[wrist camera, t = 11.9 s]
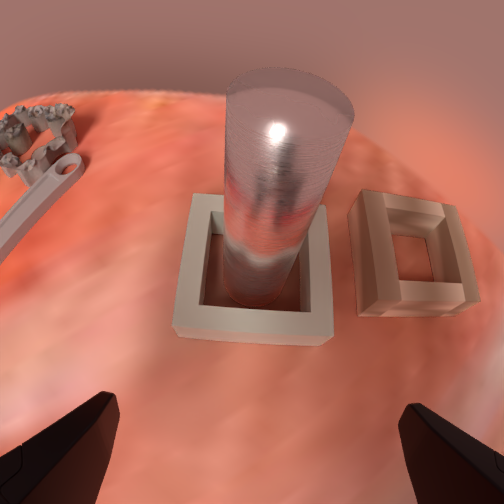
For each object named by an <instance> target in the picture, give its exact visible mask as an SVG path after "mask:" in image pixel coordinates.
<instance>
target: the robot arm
mask: <svg viewBox="0 0 504 504" xmlns="http://www.w3.org/2000/svg"><path fill="white" fill-rule="evenodd" d="M119 418H120V412H119V407H118V403H117V399H116V395H115V394H114V393H110V392H106V391H101V392H99V393H98V394H96V395H95V396H93V397H92V398H91V399H89V400H88V401H86V402H85V403H83V404H82V405H80V406H79V407H77V408H76V409H74V410H73V411H71V412H70V413H68V414H67V415H65V416H64V417H62V418H61V419H59V420H58V421H56V422H55V423H53V424H52V425H50V426H49V427H47V428H45V429H44V430H42V431H41V432H39V433H38V434H36V435H35V436H33V437H32V438H30V439H29V440H27V441H25V442H24V443H22V446H21V445H19V446H17V447H16V448H14V449H13V450H11V451H9V452H8V453H6V454H4V455H3V456H1V457H0V504H95V502H96V499H97V496H98V493H99V490H100V487H101V484H102V482H103V479H104V476H105V473H106V470H107V467H108V464H109V461H110V458H111V454H112V449H113V444H114V440H115V436H116V431H117V427H118V423H119ZM398 429H399V433H400V438H401V443H402V448H403V453H404V458H405V462H406V466H407V469H408V473H409V476H410V479H411V482H412V486H413V489H414V492H415V496H416V499H417V502H418V504H504V456H503V455H501V454H499V453H498V452H496V451H494V450H493V449H491V448H489V447H488V446H486V445H485V444H483V443H481V442H480V441H478V440H477V439H475V438H473V437H472V436H470V435H469V434H467V433H466V432H464V431H462V430H461V429H459V428H458V427H456V426H455V425H453V424H451V423H450V422H448V421H447V420H445V419H444V418H442V417H441V416H439V415H438V414H436V413H434V412H433V411H431V410H430V409H428V408H427V407H425V406H424V405H422V404H421V403H412V404H408V405H407V406H406V408H405V410H404V412H403V414H402V416H401V418H400V420H399V423H398Z"/></svg>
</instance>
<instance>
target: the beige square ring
mask: <svg viewBox="0 0 504 504" xmlns="http://www.w3.org/2000/svg"><path fill="white" fill-rule="evenodd" d="M347 217H348V225H349V232H350V241H351V249H352V258H353V268H354V279H355V290H356V303H357V316H365V317H444V316H456V315H458V314H460V313H461V312H463V311H465V310H467V309H468V308H470V307H472V306H474V305H475V304H477V303H479V302H480V301H481V300H480V295H479V290H478V285H477V281H476V276H475V272H474V268H473V263H472V260H471V256H470V252H469V248H468V244H467V241H466V237H465V234H464V231H463V227H462V224H461V221H460V218H459V215H458V212H457V209H456V206H452V205H448V204H443V203H438V202H433V201H428V200H423V199H417V198H412V197H406V196H401V195H395V194H389V193H383V192H377V191H371V190H365V189H362V190H361V191H360V193H359V195H358V197H357V199H356V201H355V202H354V204H353V206H352V208H351V209H350V211H349V213H348V215H347ZM391 234H393V235H401V236H409V237H417V238H425V240H426V245H427V249H428V254H429V258H430V263H431V268H432V273H433V279H434V282H423V281H405V280H399V276H398V270H397V263H396V257H395V251H394V246H393V240H392V235H391Z"/></svg>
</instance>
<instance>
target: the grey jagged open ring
mask: <svg viewBox="0 0 504 504" xmlns="http://www.w3.org/2000/svg"><path fill="white" fill-rule="evenodd" d="M72 107H73V106H69V105H68V104H62V103H60V104H55V107H53V106H51V105H49V106H47V107H44V106H42V105H38V106H34V107H29V108H28V109H26V108H25V107H24V106H23V105H21V106H16V108H15V112H14V113H13V114H11V115H8V114H7V113H6V114H5V115H4V117H3V119H2V120H0V166H1V168H2V169H3V171H4V172H5V174H6V175H7V176H8V177H10V178H12V177H13V176H14V175H16V174H17V173H18V175H19V176H20V178H21V180H22V181H23V182H24V184H25V185H26V186H28V187H31V186H32V185H33V184H34V183H35V182H36V181H37V180H38V179H39V178H40V177H41V176H42V175H43V174H44V173H45V172H46V171H47V170H48V169H49V168H50V167H51V166H52V163H53V161H54V160H55V159H56V158H57V157H58V156H59V155H61V154H63V153H67V152H72V151H73V150H74V149H75V148H76V147H77V146H78V144H77V141H76V139H75V138H76V136H77V133H76V129H75V125H74V122H73V121H72V119H71V116H72V115H73V113H74V112H75V109H74V108H72ZM31 124H32V125H33V127H34V129H35V131H36V132H43V131H45V130H47V129H48V128H50V129H51V131H52V133H53V135H54V137H56V138H55V139H53V140H51V141H50V142H48V143H47V144H46V145H44V146H41V147H39V148H38V149H36V150H35V151H34V152H33V154H32V156H31V160H30V159H29V160H27V161H26V162H24V163H23V164H22V163H21V161H20V159H19V158H18V157H17V156H19V155H22V154H24V153H25V152H27V151H28V150H29V149H30V147H31V146H32V140H31V138H30V136H29V134H28V132H27V130H26V128H25V127H27V126H29V125H31ZM8 147H10V149H11V151H12V152H13V154H14V155H13V154H12V152H10V153H7V154H5V155H3V153H2V152H1V150H4V149H6V148H8Z"/></svg>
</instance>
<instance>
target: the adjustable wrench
mask: <svg viewBox="0 0 504 504" xmlns="http://www.w3.org/2000/svg"><path fill="white" fill-rule="evenodd" d="M73 164H77V167H76V168H75V169H74V170H73V171H72V172H70V173H68V174H65V175H61V174H62V172H63V170H64V169H65V168H67V167H68V166H70V165H73ZM84 171H85V166H84V163H83V161H82V158H81V156H80V155H79V154H76V153H70V154H67V155H65V156H63V157H61V158H60V159H59V160H58V161H57V162H56V163H54V164H53V165H52V166H51V167H50V168H49V169H48V170H47V171H46V172H45V173H44V174H43V175H42V176H41V177H40V178H39V179H38V180H37V181H36V182H35V183H34V184H33V185H32V186H31V187H30V188H29V189H28V190H27V191H26V192H25V193H24V194H23V195H22V196H21V198H20V199H19V200H18V201H17V202H16V203H15V204H14V205H13V206H12V207H11V209H10V210H9V211H8V212H7V213H6V214H5V215H4V216H3V218H2V219H1V220H0V265H1V263H2V262H3V261H4V260H5V258H6V257H7V256H8V255H9V254H10V252H11V251H12V250H13V249H14V247H15V246H16V245H17V244H18V243H19V242H20V240H21V239H22V238H23V237H24V236H25V235H26V233H27V232H28V231H29V230H30V229H31V228H32V227H33V226H34V224H35V223H36V222H37V221H38V220H39V219H40V218H41V217H42V216H43V215H44V214H45V213H46V212H47V210H48V209H49V208H50V207H51V206H52V205H53V204H54V203H55V202H56V201H57V200H58V199H59V198H60V197H61V196H62V195H63V194H64V193H65V192H66V191H67V190H68V189H69V188H70V187H71V186H72V185H73V184H74V183H76V182H77V181H78V180H79V179H80V178H81V176H82V175H83V173H84Z"/></svg>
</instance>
